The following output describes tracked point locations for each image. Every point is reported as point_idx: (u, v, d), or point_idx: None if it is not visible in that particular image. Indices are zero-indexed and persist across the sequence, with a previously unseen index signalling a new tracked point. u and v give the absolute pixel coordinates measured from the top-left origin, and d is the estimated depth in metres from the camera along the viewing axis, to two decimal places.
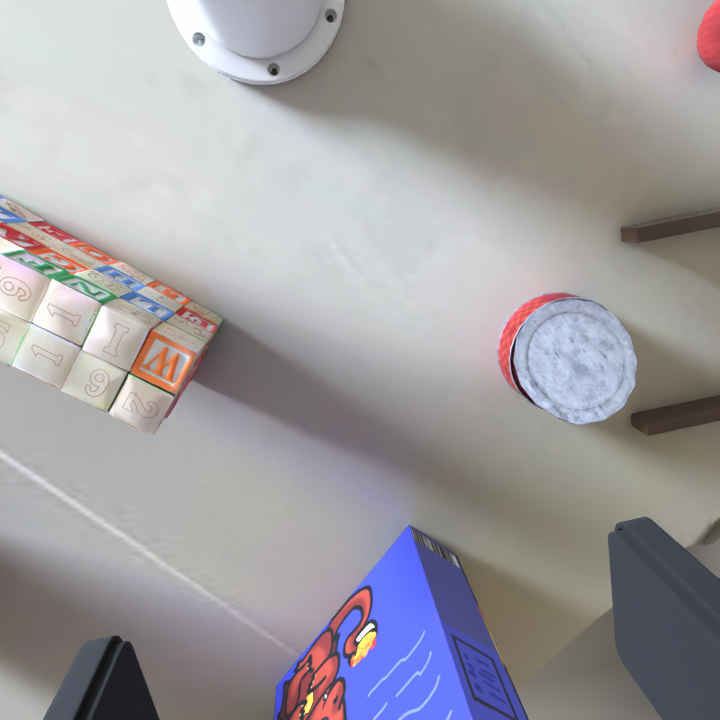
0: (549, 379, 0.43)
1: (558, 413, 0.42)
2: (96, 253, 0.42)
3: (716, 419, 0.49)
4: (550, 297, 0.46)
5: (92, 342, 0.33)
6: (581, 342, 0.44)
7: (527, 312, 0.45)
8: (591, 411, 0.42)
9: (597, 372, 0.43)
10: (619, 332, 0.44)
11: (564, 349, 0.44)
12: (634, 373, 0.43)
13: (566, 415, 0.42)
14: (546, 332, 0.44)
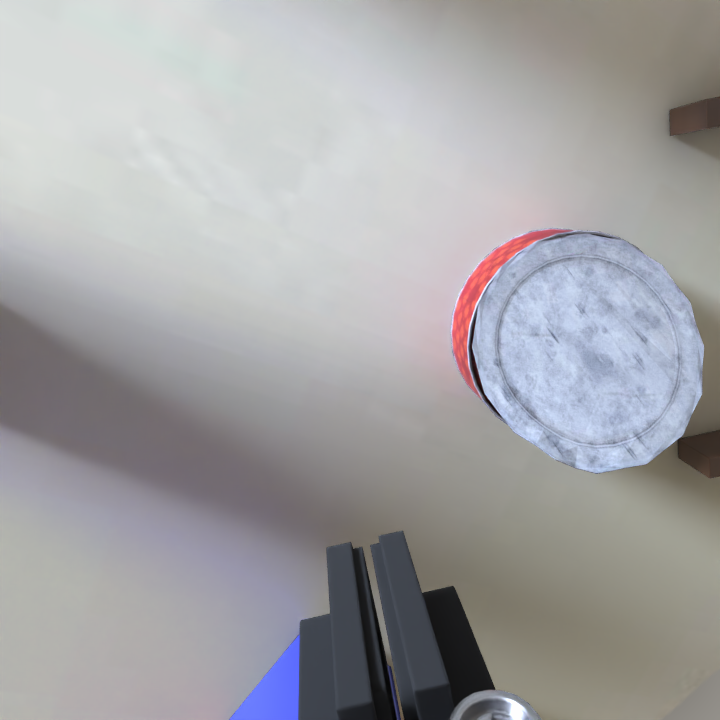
0: (539, 384, 0.23)
1: (557, 450, 0.21)
2: None
3: None
4: (542, 234, 0.25)
5: None
6: (600, 314, 0.23)
7: (500, 260, 0.25)
8: (620, 445, 0.21)
9: (630, 370, 0.23)
10: (670, 295, 0.24)
11: (568, 326, 0.23)
12: (699, 371, 0.23)
13: (571, 454, 0.21)
14: (535, 295, 0.24)
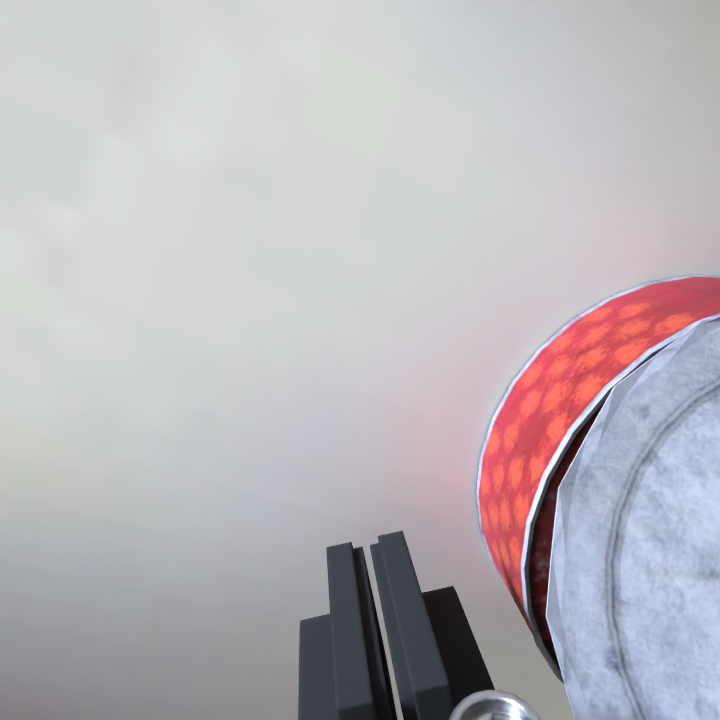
0: None
1: None
2: None
3: None
4: (692, 295, 0.11)
5: None
6: None
7: (596, 360, 0.11)
8: None
9: None
10: None
11: None
12: None
13: None
14: (702, 464, 0.09)
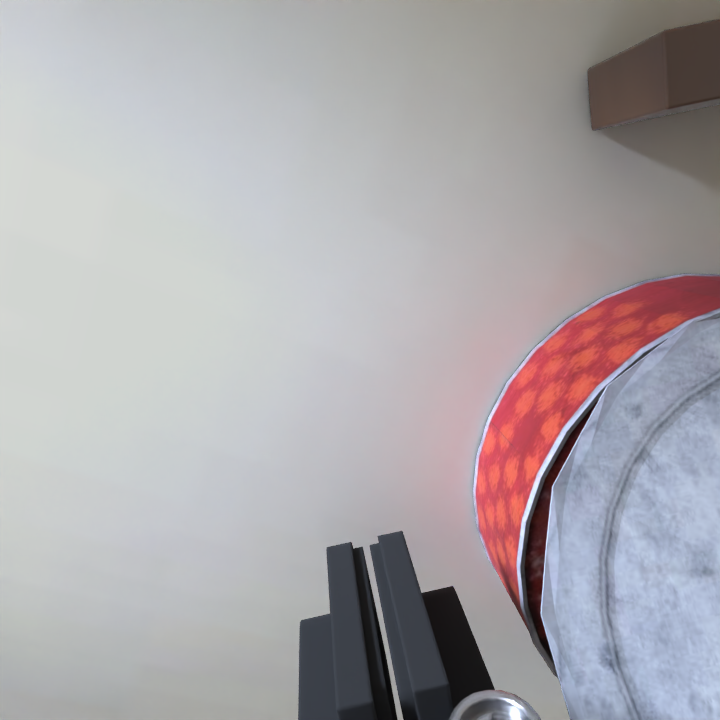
0: None
1: None
2: None
3: None
4: (684, 294, 0.11)
5: None
6: None
7: (589, 359, 0.11)
8: None
9: None
10: None
11: None
12: None
13: None
14: (694, 462, 0.09)
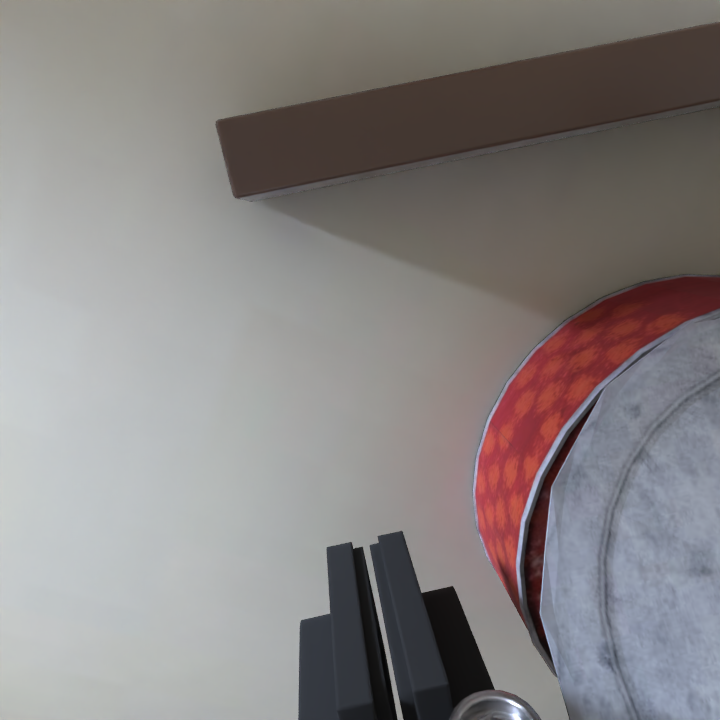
0: None
1: None
2: None
3: None
4: (683, 294, 0.11)
5: None
6: None
7: (589, 360, 0.11)
8: None
9: None
10: None
11: None
12: None
13: None
14: (692, 461, 0.09)
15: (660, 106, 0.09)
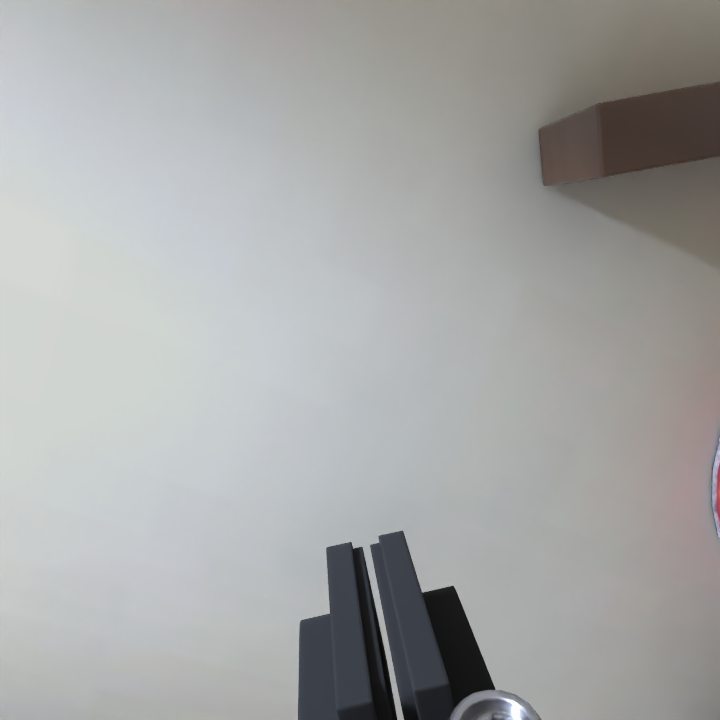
0: None
1: None
2: None
3: None
4: None
5: None
6: None
7: None
8: None
9: None
10: None
11: None
12: None
13: None
14: None
15: None
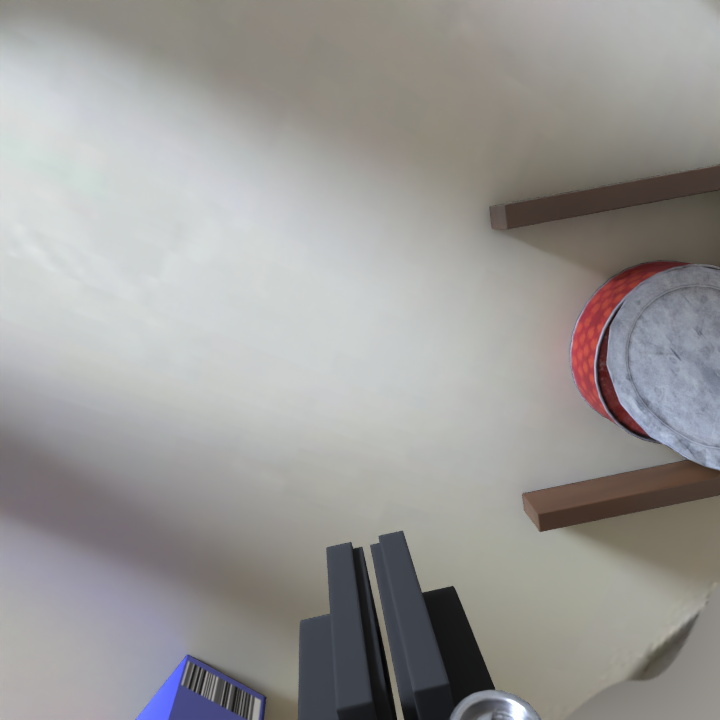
0: (667, 396, 0.26)
1: (689, 452, 0.25)
2: None
3: (647, 507, 0.32)
4: (657, 266, 0.29)
5: None
6: (715, 335, 0.27)
7: (621, 289, 0.29)
8: None
9: None
10: None
11: (688, 346, 0.27)
12: None
13: (701, 455, 0.25)
14: (658, 320, 0.28)
15: (646, 201, 0.27)
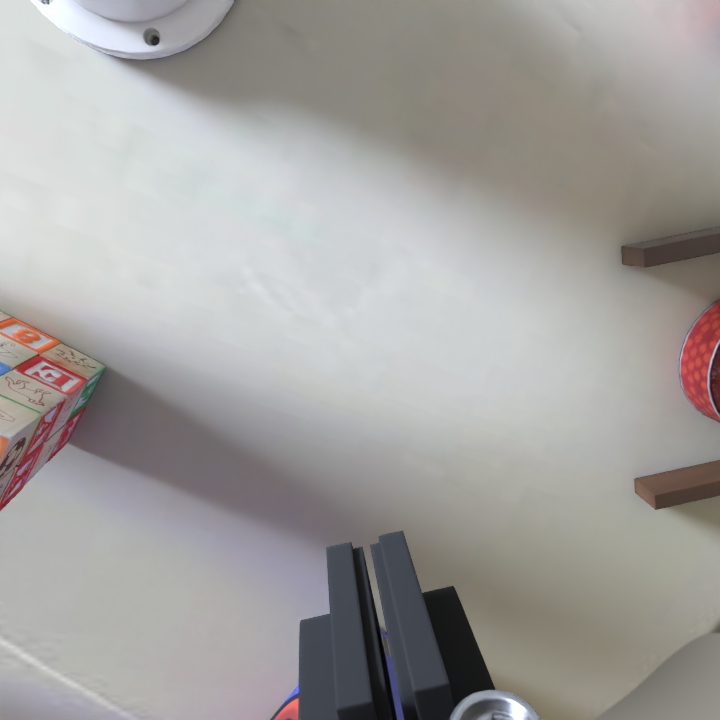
0: None
1: None
2: None
3: None
4: None
5: None
6: None
7: None
8: None
9: None
10: None
11: None
12: None
13: None
14: None
15: None
